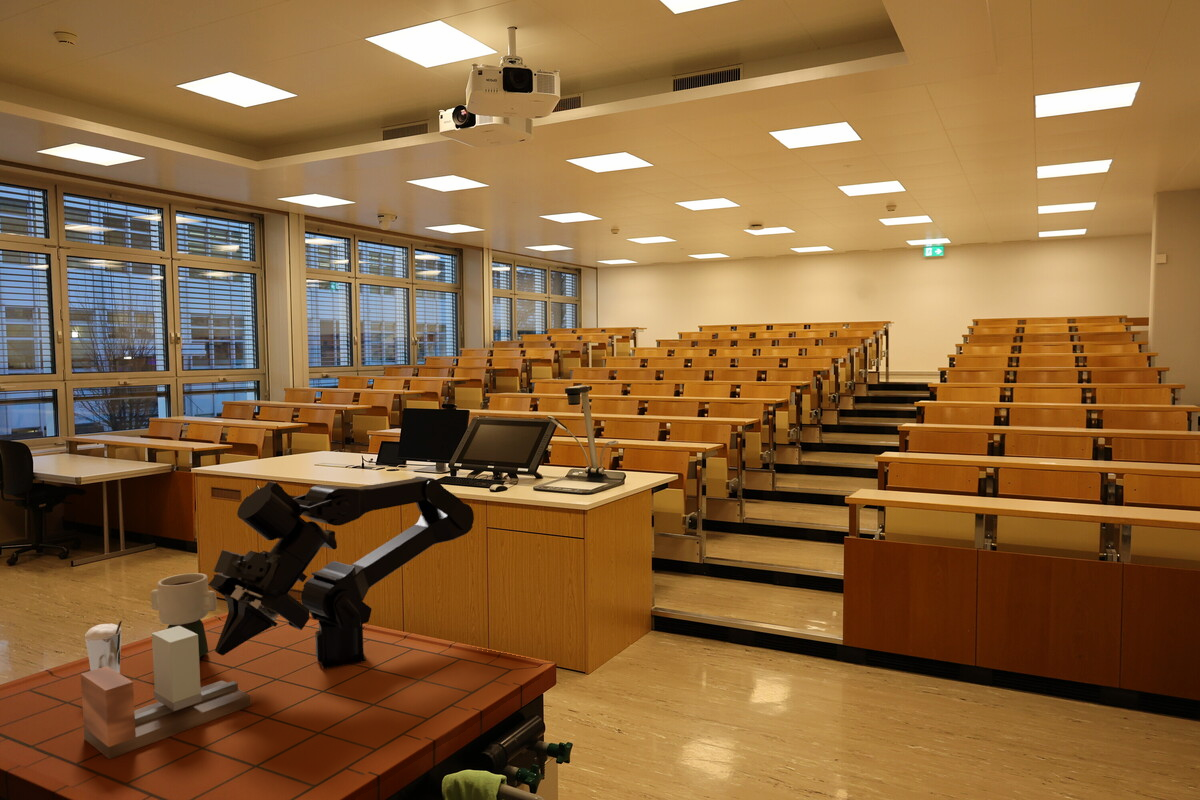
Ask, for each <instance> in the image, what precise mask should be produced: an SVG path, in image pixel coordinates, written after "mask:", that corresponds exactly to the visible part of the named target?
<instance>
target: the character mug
mask: <svg viewBox="0 0 1200 800" xmlns="http://www.w3.org/2000/svg"><path fill="white" fill-rule="evenodd" d="M208 584H209V579H208V575H207V574H205V573H200V572H199V573H198V572H196V573H194V572H191V573H190V572H189V573H181V574H176V575H171V576H167V577H165V578H161V579H160V580H159V581H157V589H152V590H151V593H150V600H151V603H150V604H151V608H152V610H154V611H158V619H159V622H160V623H161V624H163V625H167V628H166V629H169V628H173V627H176V626H181V627H183V628H185V629H187V630H190V631H192V632H194V633H196V634H198V645H199V658H202V656H204V655H205V656H206V655H207V654H208V653H209V646H208V640H207V634H206V630H205V625H204V622H203V621H202V620H201V619H204V618H205V617H206V616H207V615H208V613H209V612H214V611H216V610H217V603H218V602H217V593H216V592H217V591H216V590H210V589H209V585H208Z"/></svg>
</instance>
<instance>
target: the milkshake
mask: <svg viewBox="0 0 1200 800" xmlns="http://www.w3.org/2000/svg"><path fill="white" fill-rule="evenodd" d="M122 622H123V620H119V622H118V624H116V623H102V624H97V625H94V626H92V627H91V628H89V629H88V631H87V632H86V633H84V634H85V635H84V640H85V644H86V650H87V651H86V652H87V655H88V661H89V668H90V669H89V671H92V670H96V669H99V668H102V667H106V666H108V667H110V668H111V669H113V670H114V671H116V672H118V673H119V674H121V648H122V647H121V646H122V634H123V633H122V632H123V631H122V630H123V629H122V627H121V626H122Z"/></svg>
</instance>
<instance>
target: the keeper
mask: <svg viewBox="0 0 1200 800" xmlns="http://www.w3.org/2000/svg"><path fill="white" fill-rule="evenodd" d="M151 643H152V645H151V647H152V664H153V681H154V683H153V685H154V691H153V697H154V700H156V701H158V702H161V703H162V704H164V705H165V706H167V707H169V708H170V709H172V710H173V711H176V710H179V709H181V708H184V707H187V706H190V705H193V704H195V703H198V702H201V701H202V694H201V687H202V686H201V671H200V657H199V645H198V634H196V633H194V632H192V631H190V630H187V629H185V628H183V627H181V626H176V627H173V628H169V629H167V628H165V629H162V630H159V631H155V632H151Z"/></svg>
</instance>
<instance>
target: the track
mask: <svg viewBox="0 0 1200 800" xmlns="http://www.w3.org/2000/svg"><path fill="white" fill-rule="evenodd" d="M80 683H81V685H80V686H81V702H82V717H83V718H82V719H83V720H82V721H83V735H84V736H83V737H84V741H86V742H87V743H88V744H89V745H91V746H93V747H94V749H96V750H97V751H98V752H100V753H101V754H102V755H103V756H105V757H106V758H107V759H109V760H111V759H113V758H117V757H120V756H122V755H124V754H126V753H129V752H133V751H134V750H138V749H140V748H143V747H145V746H148V745H151V744H154V743H155V742H158V741H160V740H163V739H167V738H169V737H171V736H174V735H177V734H180V733H182V732H185V731H186V730H187V731H188V730H190V729H192V728H195V727H198V726H201V725H203V724H205V723H208V722H210V721H214V720H216V719H220V718H222V717H224V716H227V715H229V714H232V713H235V712H238V711H240V710H243V709H245V708H249V707H250V706H251V694H249V693H247V692H246V691H243V690H242V689H239V685H238V684H239V683H238V682H236V681H235V680H232V681H229V682H226V681H224V680H219V681H216V682H213V683H209V684H207V685H204V686H200V687H201V694H202V701H201V702H198V703H195V704H193V705H190V706H187V707H184V708H181V709H179V710H176V711H173V710H172V709H170V708H169V707H167V706H165V705H164V704H162V703H161V702H159V701H158V702H155V703H152V704H149V705H145V706H143V707H140V708H138V709H135V697H134V696H135V695H134V682H133V681H132V680H131V679H129V678H127V677H126V676H124V675H122V674H121V673H120V674H119V673H118V672H116V671H114V670H113V669H111V668H110V667H108V666H106V667H102V668H99V669H96V670H92V671H91V670H89V671H86V672H82V673H80Z"/></svg>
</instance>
